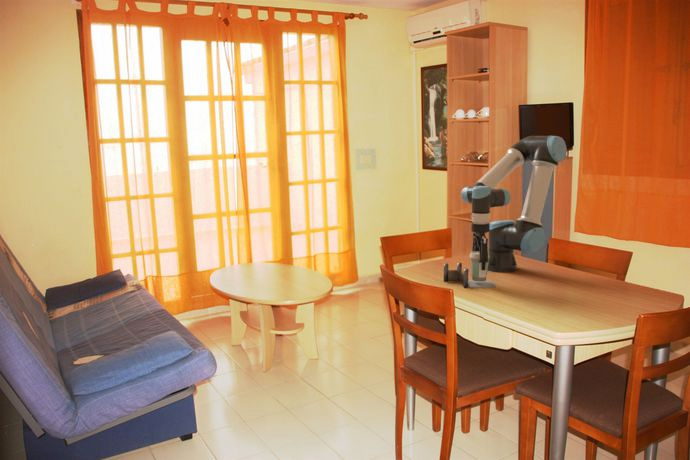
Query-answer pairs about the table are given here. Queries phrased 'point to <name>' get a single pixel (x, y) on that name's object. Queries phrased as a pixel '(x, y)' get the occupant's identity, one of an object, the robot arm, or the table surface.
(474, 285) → the coaster
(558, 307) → the table surface
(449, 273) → the rail
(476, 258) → the coffee cup
